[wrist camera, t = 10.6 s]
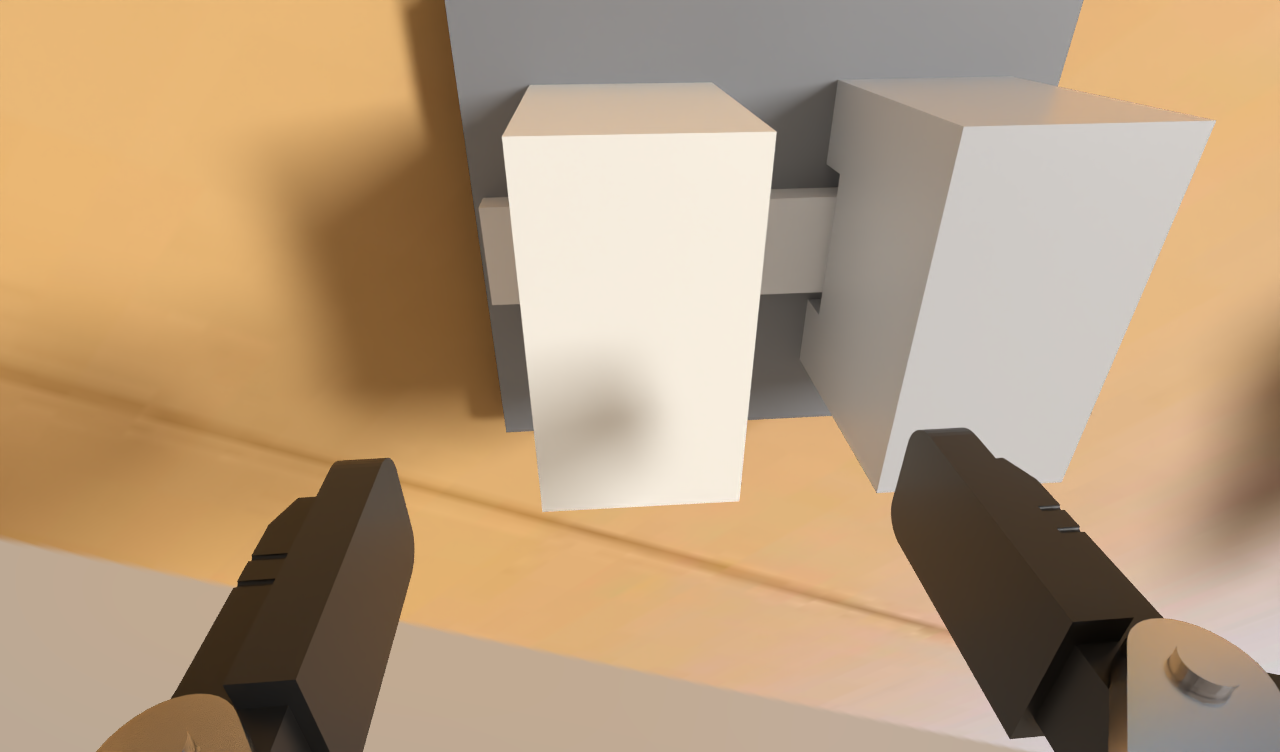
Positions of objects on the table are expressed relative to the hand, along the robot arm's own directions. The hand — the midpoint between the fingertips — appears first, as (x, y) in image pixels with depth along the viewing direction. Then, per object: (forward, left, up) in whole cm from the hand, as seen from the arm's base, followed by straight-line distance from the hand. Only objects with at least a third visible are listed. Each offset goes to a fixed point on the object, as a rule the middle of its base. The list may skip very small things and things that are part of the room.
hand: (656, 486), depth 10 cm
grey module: (+9, 0, -12) cm, 14 cm away
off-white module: (0, 0, -12) cm, 12 cm away
